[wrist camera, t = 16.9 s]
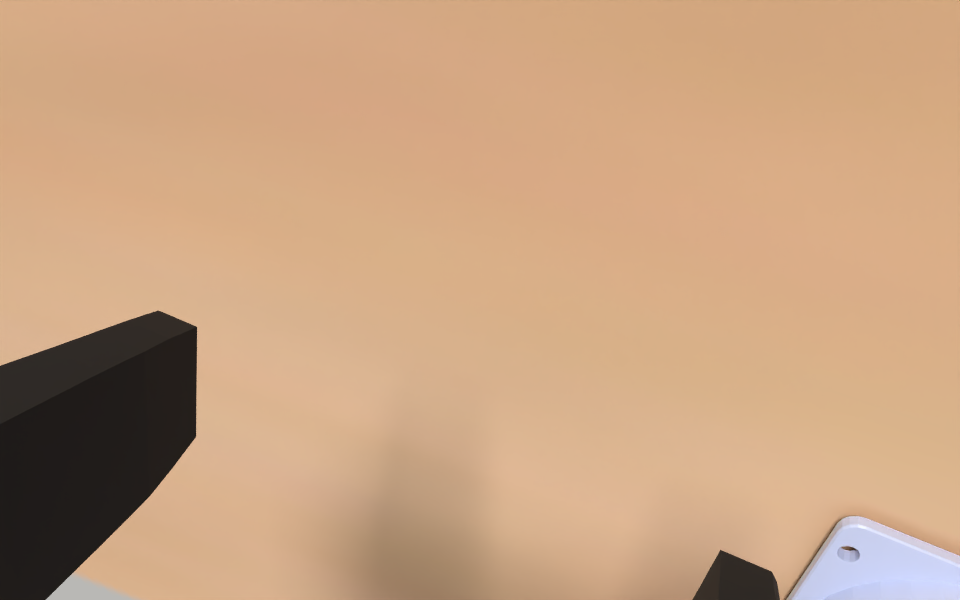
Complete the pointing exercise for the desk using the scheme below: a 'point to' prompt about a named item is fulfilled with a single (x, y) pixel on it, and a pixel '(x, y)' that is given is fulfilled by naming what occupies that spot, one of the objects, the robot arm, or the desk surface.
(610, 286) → the desk surface
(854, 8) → the desk surface
